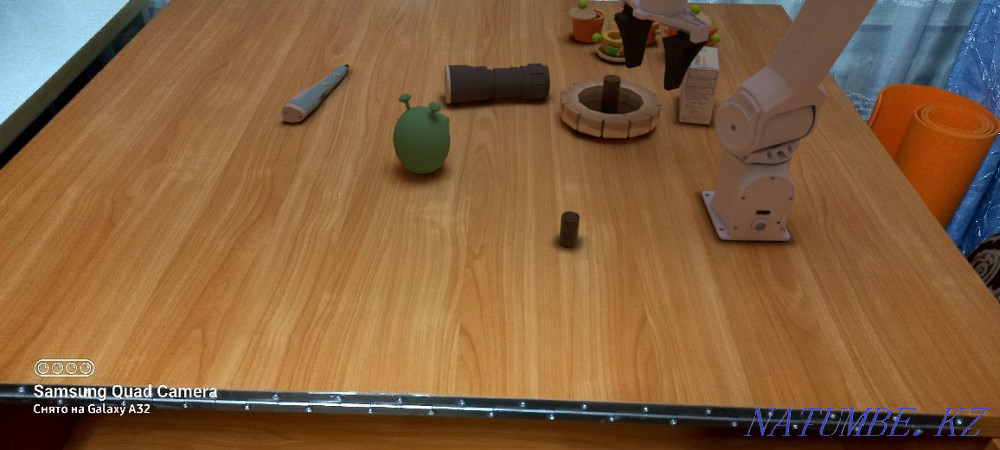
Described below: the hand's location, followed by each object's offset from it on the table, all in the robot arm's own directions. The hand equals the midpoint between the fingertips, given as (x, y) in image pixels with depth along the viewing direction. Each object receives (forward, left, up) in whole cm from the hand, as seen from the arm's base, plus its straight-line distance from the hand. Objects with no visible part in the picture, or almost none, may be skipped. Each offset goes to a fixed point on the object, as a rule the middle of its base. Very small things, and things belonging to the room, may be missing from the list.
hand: (652, 77), depth 96 cm
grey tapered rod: (+12, +46, -10) cm, 49 cm away
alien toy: (-8, +29, -10) cm, 32 cm away
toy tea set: (+32, -5, -10) cm, 33 cm away
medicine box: (+9, -9, -10) cm, 16 cm away
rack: (+6, +4, -9) cm, 12 cm away
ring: (+6, +4, -8) cm, 11 cm away
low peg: (-23, +12, -9) cm, 28 cm away
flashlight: (+12, +20, -10) cm, 25 cm away
